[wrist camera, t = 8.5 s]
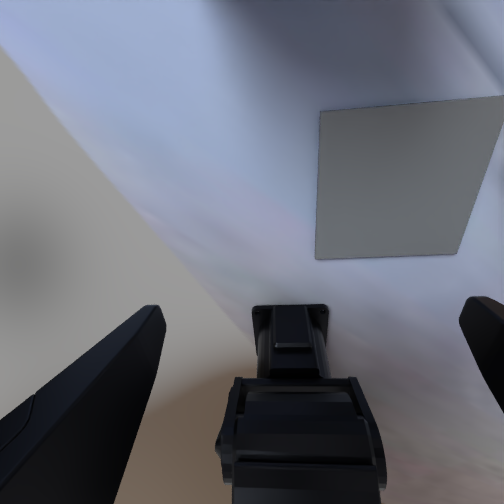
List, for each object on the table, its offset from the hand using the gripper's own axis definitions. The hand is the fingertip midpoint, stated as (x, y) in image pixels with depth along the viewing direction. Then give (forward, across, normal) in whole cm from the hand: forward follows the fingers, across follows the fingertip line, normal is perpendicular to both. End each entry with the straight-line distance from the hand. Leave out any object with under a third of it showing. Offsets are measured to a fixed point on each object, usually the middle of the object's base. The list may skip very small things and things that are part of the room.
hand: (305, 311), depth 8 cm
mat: (+12, -7, +1) cm, 14 cm away
